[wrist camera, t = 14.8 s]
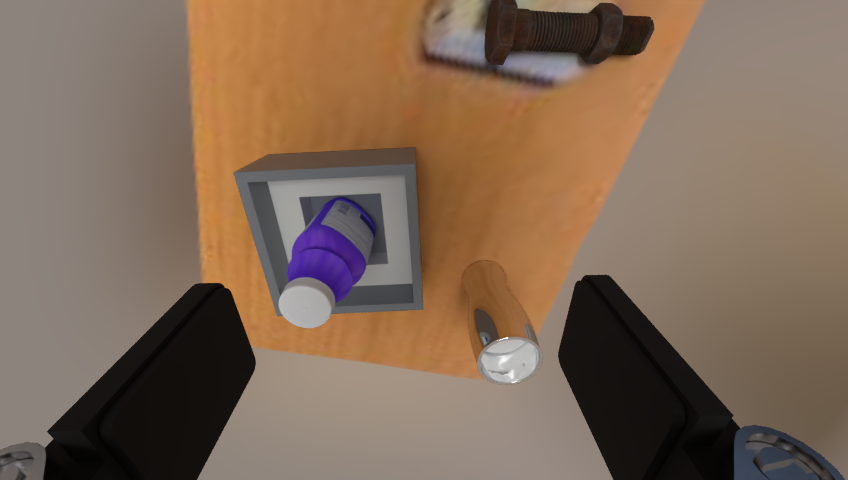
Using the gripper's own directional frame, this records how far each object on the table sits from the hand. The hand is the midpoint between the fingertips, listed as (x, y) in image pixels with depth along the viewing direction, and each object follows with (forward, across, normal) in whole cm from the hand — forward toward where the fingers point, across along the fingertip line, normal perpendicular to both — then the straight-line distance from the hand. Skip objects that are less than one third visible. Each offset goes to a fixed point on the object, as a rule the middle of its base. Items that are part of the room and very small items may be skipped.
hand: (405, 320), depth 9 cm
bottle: (+30, +9, +11) cm, 33 cm away
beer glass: (+31, -9, +21) cm, 38 cm away
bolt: (+32, -15, -8) cm, 37 cm away
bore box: (+31, +8, +11) cm, 34 cm away
